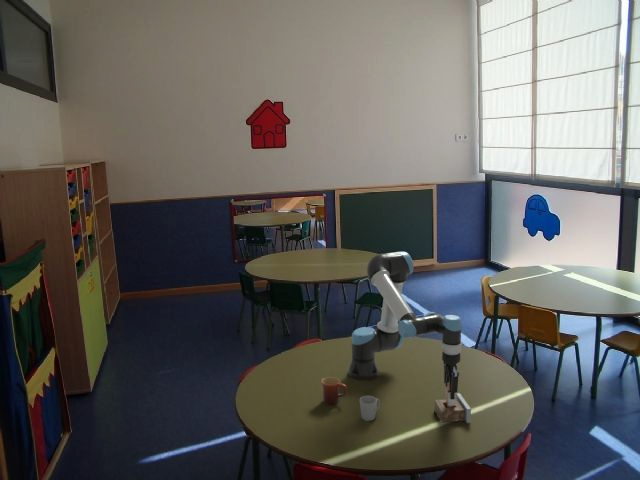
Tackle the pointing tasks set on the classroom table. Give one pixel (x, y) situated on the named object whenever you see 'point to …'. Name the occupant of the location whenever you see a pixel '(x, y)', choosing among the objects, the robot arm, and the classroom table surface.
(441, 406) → the block
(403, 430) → the classroom table surface
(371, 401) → the cup
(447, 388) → the dowel
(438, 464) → the classroom table surface
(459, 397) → the base
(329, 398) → the mug
